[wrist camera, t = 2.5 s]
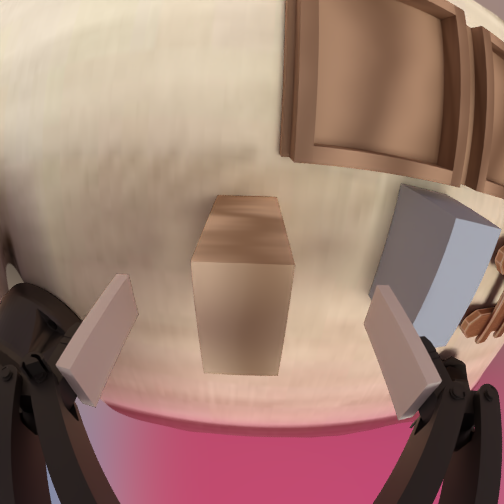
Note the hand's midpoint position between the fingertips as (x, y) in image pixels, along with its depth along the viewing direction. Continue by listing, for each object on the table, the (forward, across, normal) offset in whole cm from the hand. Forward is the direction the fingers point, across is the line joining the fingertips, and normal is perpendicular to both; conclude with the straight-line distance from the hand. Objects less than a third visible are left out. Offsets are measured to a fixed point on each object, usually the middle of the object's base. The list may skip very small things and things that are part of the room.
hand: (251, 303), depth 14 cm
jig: (+7, +13, +14) cm, 20 cm away
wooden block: (+7, -1, 0) cm, 7 cm away
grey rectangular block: (+7, +13, 0) cm, 15 cm away
